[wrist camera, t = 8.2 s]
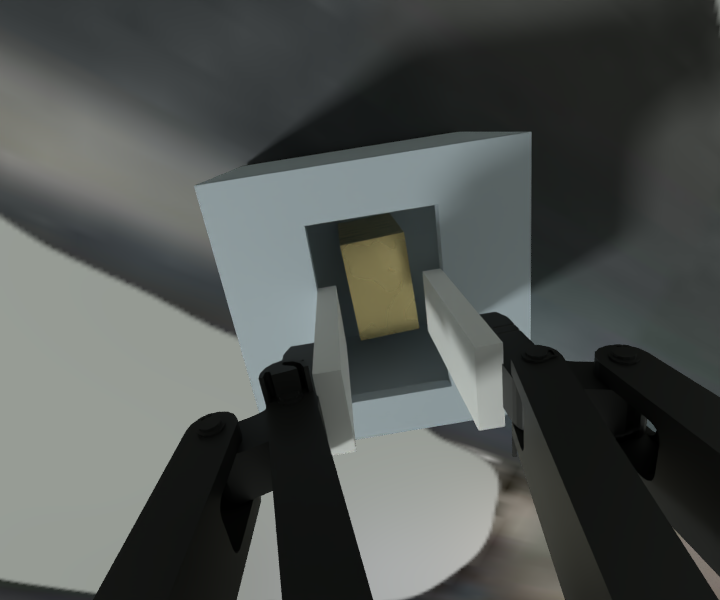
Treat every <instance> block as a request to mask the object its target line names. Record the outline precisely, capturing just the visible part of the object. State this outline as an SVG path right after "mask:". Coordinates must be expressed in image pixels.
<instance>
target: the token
mask: <svg viewBox="0 0 720 600" xmlns="http://www.w3.org/2000/svg"><path fill="white" fill-rule="evenodd" d="M338 233H339V242H340V248H341V253H342V257H343V262H344V266H345V271H346V275H347V280H348V284H349V289H350V293H351V298H352V302H353V307H354V311H355V316H356V320H357V325H358V329H359V334H360V338H361V341H362V340H367V339H372V338H376V337H381V336H386V335H391V334H395V333H400V332H405V331H410V330H414V329H419V322H418V316H417V310H416V304H415V297H414V291H413V285H412V279H411V273H410V266H409V260H408V254H407V248H406V241H405V235H404V231H403V230H402V229H401V228H400V226H399V225H398V224H397V222H396V221H395V220H394V218H393V217H392V216H391V214H390V213H386V214H381V215H376V216H372V217H367V218H362V219H357V220H353V221H348V222H343V223H339V224H338Z"/></svg>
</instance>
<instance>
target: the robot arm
mask: <svg viewBox="0 0 720 600" xmlns="http://www.w3.org/2000/svg"><path fill="white" fill-rule="evenodd" d="M422 272H423V283H424V293H425V304H426V314H427V324H428V332H429V334H430V336H431V338H432V340H433V342H434V343H435V345H436V347H437V349H438V351H439V353H440V355H441V357H442V359H443V361H444V363H445V365H446V367H447V369H448V371H449V373H450V375H451V377H452V379H453V381H454V383H455V385H456V387H457V389H458V391H459V392H460V394H461V396H462V398H463V400H464V402H465V404H466V406H467V408H468V410H469V412H470V414H471V416H472V418H473V420H474V422H475V424H476V426H477V428H478V430H479V431H480V430H486V429H492V428H498V427H503V426H505V411H506V413H507V414H508V416H509V417H510V419H511V420H512V457H517V452H518V455H519V458H520V461H521V464H522V467H523V471H524V474H525V477H526V480H527V483H528V486H529V489H530V492H531V495H532V499H533V502H534V505H535V508H536V511H537V514H538V517H539V520H540V523H541V526H542V530H543V533H544V536H545V539H546V542H547V545H548V548H549V551H550V554H551V558H552V561H553V564H554V567H555V570H556V573H557V576H558V579H559V582H560V586H561V589H562V592H563V595H564V598H565V600H719V599H718V598H717V596H716V595H715V593H714V592H713V590H712V589H711V587H710V585H709V584H708V582H707V581H706V579H705V578H704V576H703V575H702V573H701V571H700V570H699V568H698V567H697V565H696V564H695V562H694V560H693V559H692V557H691V556H690V554H689V553H688V551H687V550H686V548H685V546H684V545H683V543H682V542H681V540H680V539H679V537H678V535H677V534H676V532H675V531H674V529H675V530H676V531H677V532H678V533H679V534H680V535H681V537H682V538H683V539H684V540H685V541H686V542H687V543H688V544H689V545H690V546H691V547H692V548H693V549H694V550H695V551H696V552H697V553H698V554H699V555H700V556H701V558H702V559H703V560H704V561H705V562H706V563H707V564H708V565H709V566H710V567H711V568H712V569H713V570H714V571H715V572H716V573H717V574H718V575H719V576H720V397H718V396H717V395H715V394H714V393H712V392H710V391H709V390H707V389H706V388H704V387H702V386H701V385H699V384H698V383H696V382H694V381H693V380H691V379H690V378H688V377H686V376H685V375H683V374H682V373H680V372H678V371H677V370H675V369H674V368H672V367H670V366H669V365H667V364H666V363H664V362H662V361H661V360H659V359H658V358H656V357H654V356H653V355H651V354H650V353H648V352H646V351H644V350H641V349H639V348H636V347H631V346H629V345H620V344H616V345H608V346H604V347H601V348H599V349H598V350H597V351H596V352H595V359H594V362H573V361H565V359H564V358H563V356H562V355H561V354H560V353H559V352H558V351H557V350H555V349H553V348H550V347H547V346H542V345H534V343H533V342H532V341H531V340H530V339H529V338H528V337H527V336H526V335H525V334H524V333H523V332H522V331H520V329H519V328H518V327H517V326H516V325H514V323H513V322H512V321H511V320H510V319H509V318H508V317H507V316H505V315H502V314H500V313H498V312H490V313H484V314H479V313H478V312H477V311H476V310H475V309H474V307H473V306H472V305H471V304H470V303H469V302H468V300H467V299H466V298H465V297H464V296H463V294H462V293H461V292H460V291H459V290H458V288H457V287H456V286H455V285H454V284H453V282H452V281H451V280H450V279H449V278H448V276H447V275H446V274H445V273H444V272H443V271H442V269H441V268H440V269H434V270H427V271H422ZM258 379H259V383H260V386H261V390H262V394H263V397H264V401H265V404H266V409H265V410H264V411H262V412H260V413H259V414H257V415H255V416H252V417H250V418H247V419H244V420H242V421H239V422H238V420H237V418H236V416H235V415H234V414H233V413H230V412H216V413H211V414H208V415H206V416H203V417H201V418H200V419H198V420H197V421H196V422H194V423H193V424H191V426H190V427H189V428H188V429H187V430H186V432H185V434H184V436H183V437H182V439H181V441H180V443H179V445H178V447H177V448H176V450H175V452H174V454H173V456H172V458H171V459H170V461H169V463H168V465H167V466H166V468H165V470H164V472H163V474H162V476H161V477H160V479H159V481H158V483H157V485H156V486H155V489H154V490H153V492H152V494H151V496H150V497H149V499H148V501H147V503H146V505H145V507H144V508H143V510H142V512H141V514H140V515H139V517H138V519H137V521H136V523H135V525H134V526H133V528H132V530H131V532H130V534H129V536H128V537H127V539H126V541H125V543H124V545H123V547H122V548H121V550H120V552H119V554H118V556H117V557H116V559H115V561H114V563H113V564H112V566H111V568H110V570H109V572H108V574H107V575H106V577H105V579H104V581H103V583H102V584H101V586H100V588H99V590H98V592H97V594H96V595H95V597H94V599H93V600H237V596H238V592H239V588H240V584H241V580H242V575H243V572H244V568H245V563H246V560H247V555H248V551H249V547H250V543H251V539H252V535H253V531H254V527H255V523H256V519H257V515H258V511H259V507H260V503H261V496H262V495H264V494H266V493H269V492H271V491H273V498H274V509H275V520H276V532H277V545H278V556H279V568H280V580H281V592H282V600H373V598H372V594H371V591H370V587H369V584H368V580H367V577H366V573H365V570H364V566H363V562H362V559H361V556H360V552H359V549H358V545H357V542H356V538H355V534H354V531H353V527H352V524H351V520H350V517H349V513H348V510H347V506H346V503H345V499H344V496H343V492H342V489H341V485H340V482H339V478H338V475H337V471H336V468H335V464H334V461H333V457H332V455H337V454H343V453H349V452H355V451H356V443H355V432H354V421H353V410H352V398H351V387H350V376H349V365H348V354H347V344H346V338H345V333H344V327H343V322H342V316H341V310H340V305H339V299H338V294H337V288H336V286H330V287H324V288H318V292H317V305H316V321H315V337H314V343H309V344H303V345H297V346H291V347H290V348H289V349H288V350H287V351H286V352H285V353H284V355H283V359H282V360H281V361H279V362H276V363H273V364H271V365H269V366H268V367H266V368H265V369H264V370H263V371H262V372H261V373H260V375H259V378H258ZM647 419H648V420H649V421H650V422H651V423H652V424H653V425H654V427H655V428H656V430H657V431H656V433H655V432H654V431H652V430H651V429H650V428H649V427H647V426H646V425H647ZM672 527H673V528H674V529H673V528H672Z"/></svg>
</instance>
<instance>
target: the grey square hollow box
mask: <svg viewBox="0 0 720 600" xmlns="http://www.w3.org/2000/svg"><path fill="white" fill-rule="evenodd" d="M531 137H532V132H453V133H447V134H441V135H434V136H428V137H422V138H415V139H409V140H403V141H397V142H390V143H384V144H378V145H372V146H365V147H359V148H353V149H347V150H340V151H334V152H328V153H322V154H315V155H309V156H303V157H296V158H290V159H284V160H278V161H271V162H265V163H259V164H253V165H246V166H241V167H239V168H236V169H234V170H231V171H229V172H227V173H224V174H222V175H219V176H217V177H214V178H212V179H209V180H207V181H205V182H202V183H200V184H197V185H195V186H194V187H195V191H196V194H197V198H198V201H199V205H200V208H201V212H202V215H203V219H204V222H205V226H206V229H207V233H208V236H209V239H210V243H211V246H212V250H213V253H214V257H215V260H216V264H217V267H218V271H219V274H220V278H221V281H222V285H223V288H224V292H225V295H226V299H227V302H228V306H229V309H230V313H231V316H232V320H233V323H234V327H235V330H236V334H237V337H238V341H239V344H240V347H241V351H242V354H243V358H244V361H245V364H246V368H247V372H248V375H249V379H250V382H251V386H252V389H253V393H254V396H255V400H256V403H257V407H258V410H259V413H260V412H262V411H264V410H265V409H266V404H265V401H264V397H263V394H262V390H261V386H260V383H259V379H258V378H259V375H260V373H261V372H262V371H263V370H264V369H265V368H266V367H268V366H269V365H271V364H273V363H276V362H279V361H281V360H282V359H283V355H284V353H285V352H286V351H287V350H288V349H289V348H290V347H291V346H297V345H303V344H309V343H314V337H315V321H316V305H317V292H318V288H324V287H330V286H336V288H337V294H338V299H339V305H340V310H341V316H342V322H343V327H344V333H345V338H346V344H347V354H348V365H349V376H350V387H351V398H352V410H353V421H354V432H355V440H357V439H363V438H369V437H375V436H381V435H387V434H393V433H398V432H405V431H411V430H417V429H422V428H428V427H434V426H440V425H446V424H452V423H458V422H464V421H470V420H473V418H472V416H471V414H470V412H469V410H468V408H467V406H466V404H465V402H464V400H463V398H462V396H461V394H460V392H459V391H458V389H457V387H456V385H455V383H454V381H453V379H452V377H451V375H450V373H449V371H448V369H447V367H446V365H445V363H444V361H443V359H442V357H441V355H440V353H439V351H438V349H437V347H436V345H435V343H434V342H433V340H432V338H431V336H430V334H429V332H428V324H427V314H426V304H425V293H424V283H423V272H422V271H427V270H434V269H440V268H441V269H442V271H443V272H444V273H445V274H446V275H447V276H448V278H449V279H450V280H451V281H452V282H453V284H454V285H455V286H456V287H457V288H458V290H459V291H460V292H461V293H462V294H463V296H464V297H465V298H466V299H467V300H468V302H469V303H470V304H471V305H472V306H473V307H474V309H475V310H476V311H477V312H478V313H479V314H484V313H490V312H498V313H500V314H502V315H505V316H507V317H508V318H509V319H510V320H511V321H512V322H513V323H514V325H516V326H517V327H518V328H519V329H520V331H522V332H523V333H524V334H525V335H526V336H527V337H528V338H529V339H530V334H531ZM386 213H390V214H391V216H392V217H393V218H394V220H395V221H396V222H397V224H398V225H399V226H400V228H401V229H402V230H403V231H404V235H405V241H406V248H407V254H408V260H409V266H410V273H411V279H412V285H413V291H414V297H415V304H416V310H417V316H418V322H419V329H414V330H410V331H405V332H400V333H395V334H391V335H386V336H381V337H376V338H372V339H367V340H362V341H361V338H360V334H359V329H358V325H357V320H356V316H355V311H354V307H353V302H352V298H351V293H350V289H349V284H348V280H347V275H346V271H345V266H344V262H343V257H342V253H341V248H340V242H339V233H338V224H339V223H343V222H348V221H353V220H357V219H362V218H367V217H372V216H376V215H381V214H386ZM506 414H507V413H506V411H505V415H506Z"/></svg>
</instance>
